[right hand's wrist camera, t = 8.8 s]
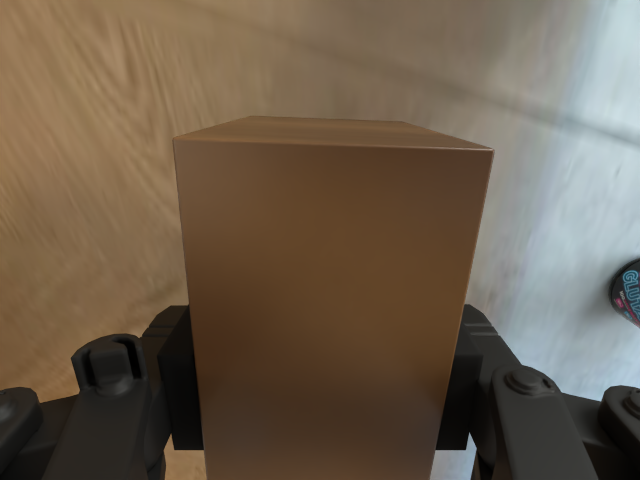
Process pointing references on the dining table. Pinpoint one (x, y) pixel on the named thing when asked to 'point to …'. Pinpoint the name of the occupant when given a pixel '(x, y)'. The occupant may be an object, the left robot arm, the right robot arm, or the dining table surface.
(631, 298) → the supplement container
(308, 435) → the beam
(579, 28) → the dining table surface
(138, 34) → the dining table surface
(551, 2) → the dining table surface
